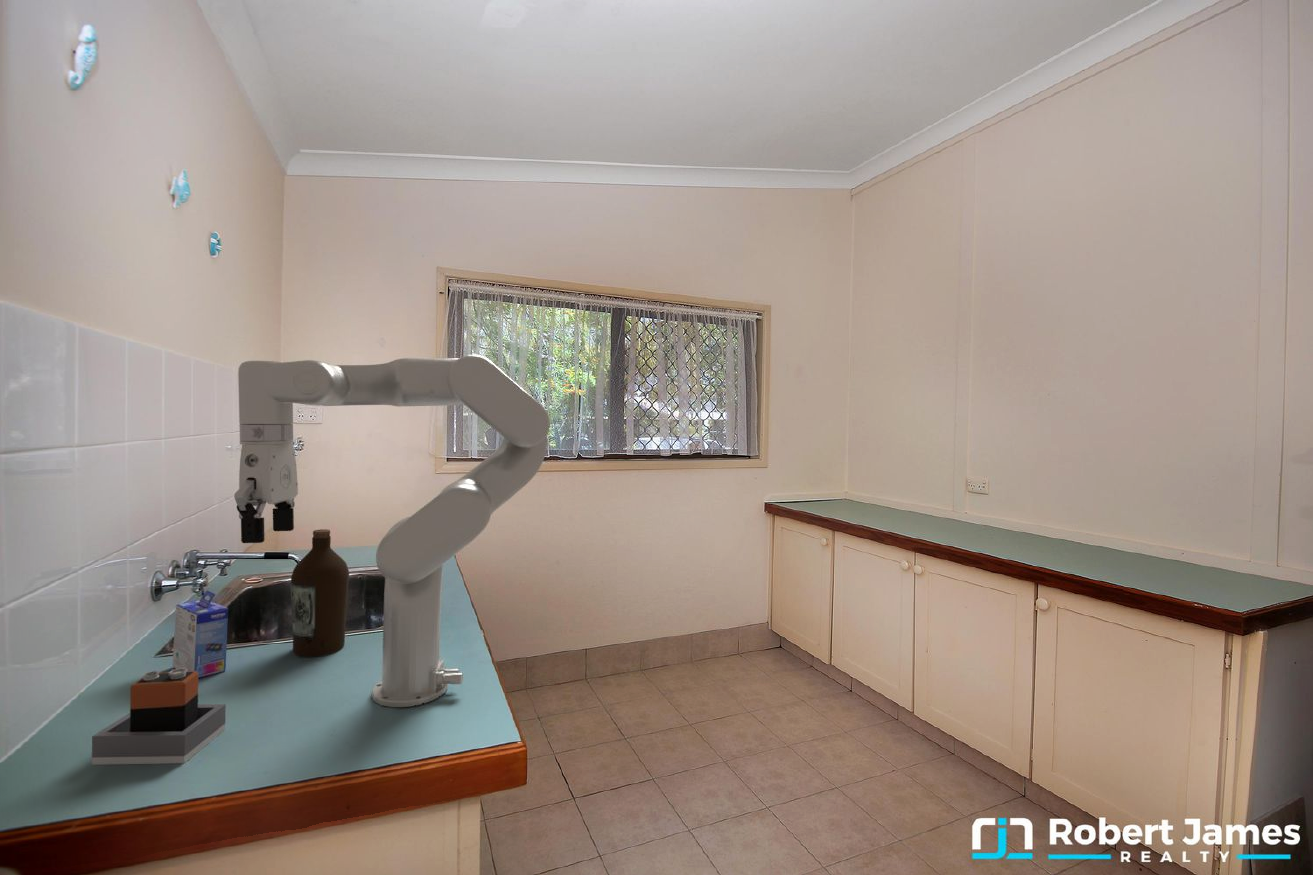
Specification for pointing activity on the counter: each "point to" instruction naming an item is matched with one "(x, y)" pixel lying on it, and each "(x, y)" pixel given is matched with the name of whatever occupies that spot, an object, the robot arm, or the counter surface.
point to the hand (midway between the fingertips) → (269, 536)
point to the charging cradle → (157, 740)
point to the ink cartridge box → (201, 636)
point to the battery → (164, 701)
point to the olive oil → (319, 599)
